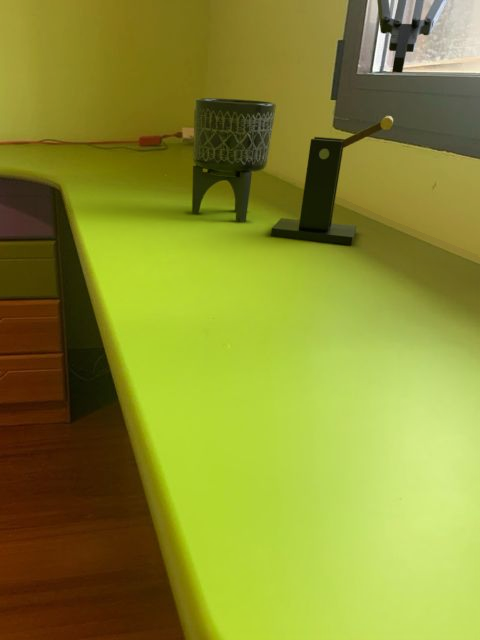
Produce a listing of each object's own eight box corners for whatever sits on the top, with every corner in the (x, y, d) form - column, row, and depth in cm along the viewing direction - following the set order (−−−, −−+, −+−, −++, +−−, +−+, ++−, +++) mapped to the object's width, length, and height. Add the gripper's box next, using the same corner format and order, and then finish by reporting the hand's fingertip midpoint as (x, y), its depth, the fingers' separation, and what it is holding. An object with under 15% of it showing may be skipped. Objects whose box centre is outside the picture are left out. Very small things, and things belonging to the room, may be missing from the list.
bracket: (355, 233, 109) (371, 139, 103) (351, 245, 102) (368, 144, 95) (280, 225, 112) (291, 133, 106) (270, 236, 105) (282, 138, 98)
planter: (278, 221, 115) (292, 104, 107) (210, 224, 110) (220, 102, 102) (237, 206, 125) (248, 99, 117) (174, 209, 120) (180, 97, 112)
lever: (395, 127, 100) (390, 110, 99) (395, 129, 95) (389, 112, 94) (322, 162, 105) (316, 147, 104) (317, 166, 100) (311, 150, 99)
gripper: (460, -29, 111) (439, 87, 105) (377, -31, 114) (351, 82, 108) (471, -76, 104) (449, 46, 98) (382, -76, 107) (355, 42, 101)
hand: (398, 65), depth 103 cm, fingers closed
